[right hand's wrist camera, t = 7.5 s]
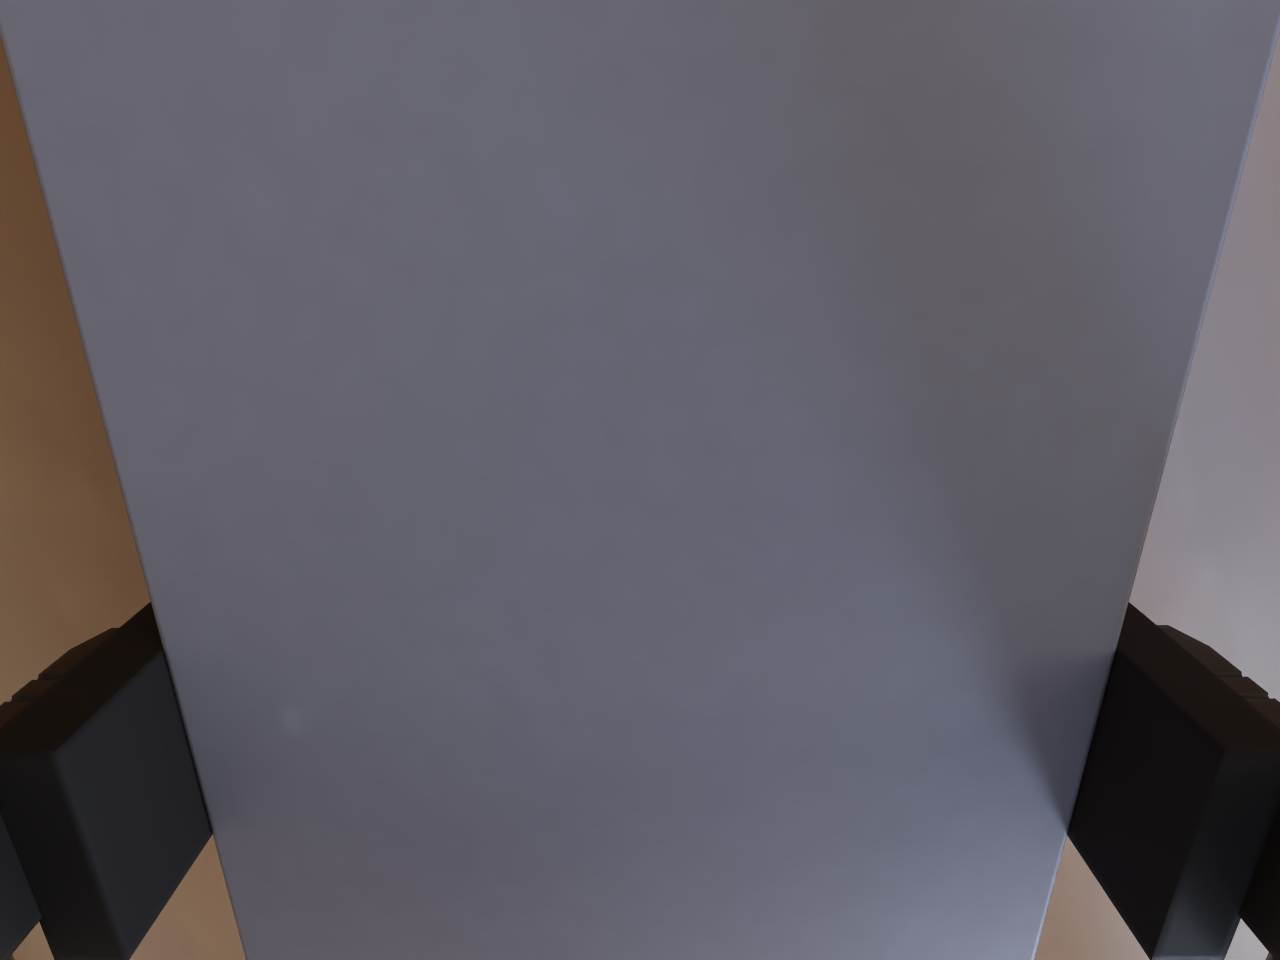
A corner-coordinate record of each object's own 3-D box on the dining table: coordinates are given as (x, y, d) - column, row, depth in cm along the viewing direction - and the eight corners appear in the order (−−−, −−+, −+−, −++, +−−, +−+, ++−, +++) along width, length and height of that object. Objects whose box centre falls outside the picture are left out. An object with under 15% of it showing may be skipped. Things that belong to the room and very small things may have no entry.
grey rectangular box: (315, -401, 12) (-550, -1984, 3) (964, -402, 12) (1824, -1992, 3) (434, 631, 19) (255, 1007, 10) (846, 631, 19) (1025, 1008, 10)
